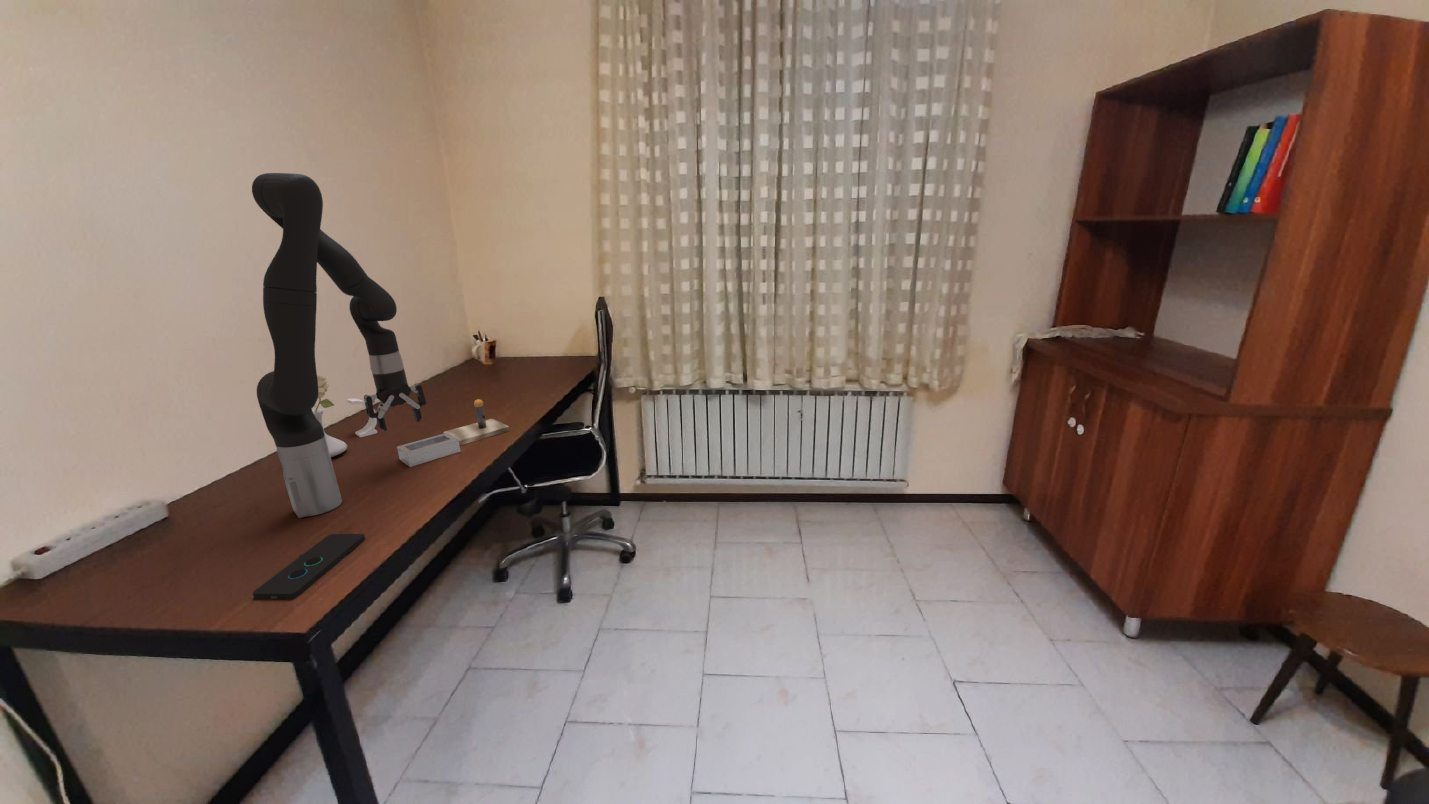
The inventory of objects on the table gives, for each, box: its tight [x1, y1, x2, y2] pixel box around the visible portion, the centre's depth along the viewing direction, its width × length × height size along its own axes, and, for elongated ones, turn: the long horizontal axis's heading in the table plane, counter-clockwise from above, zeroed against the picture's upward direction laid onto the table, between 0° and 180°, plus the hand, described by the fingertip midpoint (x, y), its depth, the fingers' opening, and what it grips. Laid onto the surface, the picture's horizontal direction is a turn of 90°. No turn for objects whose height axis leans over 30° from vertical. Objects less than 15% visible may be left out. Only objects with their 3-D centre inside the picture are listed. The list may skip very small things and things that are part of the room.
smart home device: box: [252, 533, 366, 600], centre depth 108 cm, size 8×2×20 cm
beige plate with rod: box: [442, 398, 511, 446], centre depth 175 cm, size 16×12×11 cm
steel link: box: [396, 433, 461, 468], centre depth 159 cm, size 14×8×4 cm, turn 137°
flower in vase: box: [312, 374, 348, 458], centre depth 158 cm, size 13×11×25 cm
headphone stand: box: [346, 398, 378, 438], centre depth 178 cm, size 5×6×12 cm
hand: (401, 425), depth 153 cm, fingers open, 8 cm apart
